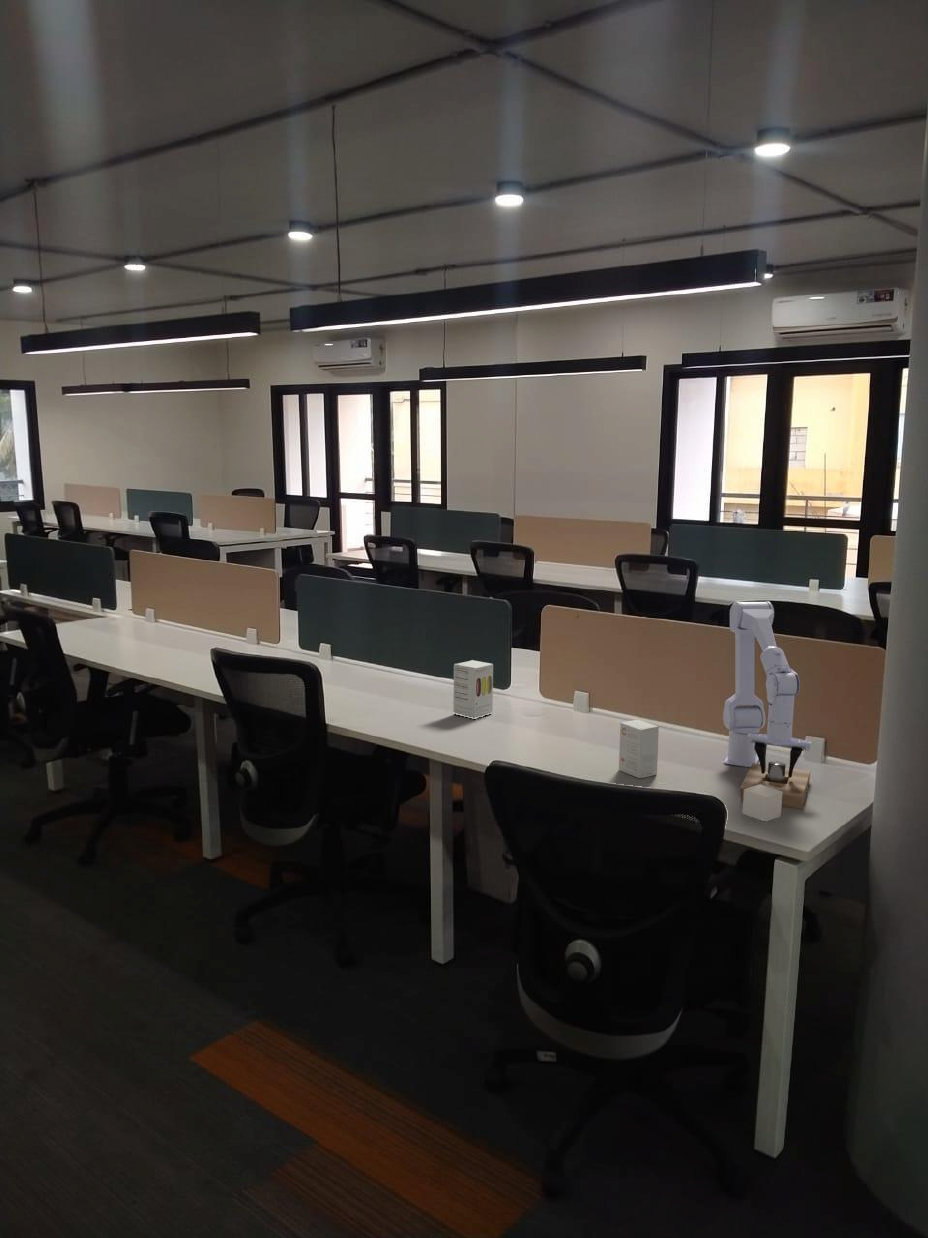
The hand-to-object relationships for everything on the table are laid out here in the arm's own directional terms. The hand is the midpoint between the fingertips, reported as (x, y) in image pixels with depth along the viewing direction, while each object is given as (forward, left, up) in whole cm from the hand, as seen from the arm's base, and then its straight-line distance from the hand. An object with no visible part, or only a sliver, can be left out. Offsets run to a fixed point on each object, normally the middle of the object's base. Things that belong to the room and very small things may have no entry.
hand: (776, 774), depth 218 cm
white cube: (+18, -1, -4) cm, 19 cm away
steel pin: (0, 0, -4) cm, 4 cm away
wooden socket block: (0, 0, -4) cm, 4 cm away
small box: (+2, -34, -4) cm, 34 cm away
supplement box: (-29, -96, -4) cm, 100 cm away
